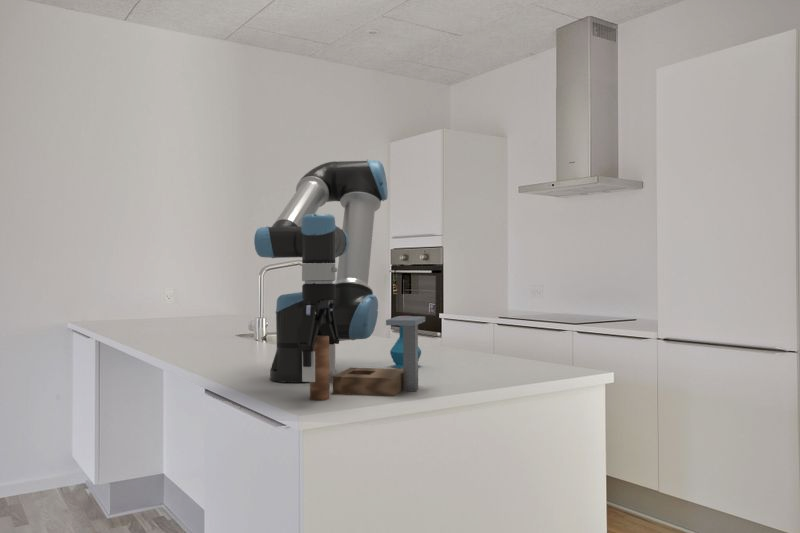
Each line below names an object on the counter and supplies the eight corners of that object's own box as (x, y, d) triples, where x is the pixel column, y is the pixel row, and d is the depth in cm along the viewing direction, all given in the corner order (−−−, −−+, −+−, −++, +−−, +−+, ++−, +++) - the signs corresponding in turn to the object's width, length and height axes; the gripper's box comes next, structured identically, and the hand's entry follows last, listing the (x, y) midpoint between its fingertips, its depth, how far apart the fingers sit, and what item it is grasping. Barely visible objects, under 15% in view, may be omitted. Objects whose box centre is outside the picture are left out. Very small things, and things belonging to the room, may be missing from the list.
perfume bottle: (402, 363, 205) (401, 314, 205) (427, 365, 199) (426, 315, 199) (384, 367, 197) (383, 316, 197) (409, 370, 192) (409, 317, 192)
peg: (307, 400, 149) (306, 337, 149) (314, 396, 154) (313, 335, 154) (325, 400, 148) (325, 337, 148) (332, 397, 153) (331, 335, 153)
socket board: (332, 393, 157) (332, 376, 157) (350, 383, 170) (350, 367, 170) (394, 395, 153) (394, 378, 153) (408, 385, 167) (408, 369, 167)
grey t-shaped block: (386, 393, 156) (385, 320, 156) (398, 384, 168) (397, 316, 168) (416, 395, 154) (415, 320, 154) (425, 385, 166) (425, 316, 166)
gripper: (315, 283, 138) (315, 386, 138) (351, 281, 162) (351, 369, 162) (281, 283, 140) (282, 385, 140) (322, 281, 164) (322, 368, 164)
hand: (319, 376), depth 151 cm, fingers open, 13 cm apart
